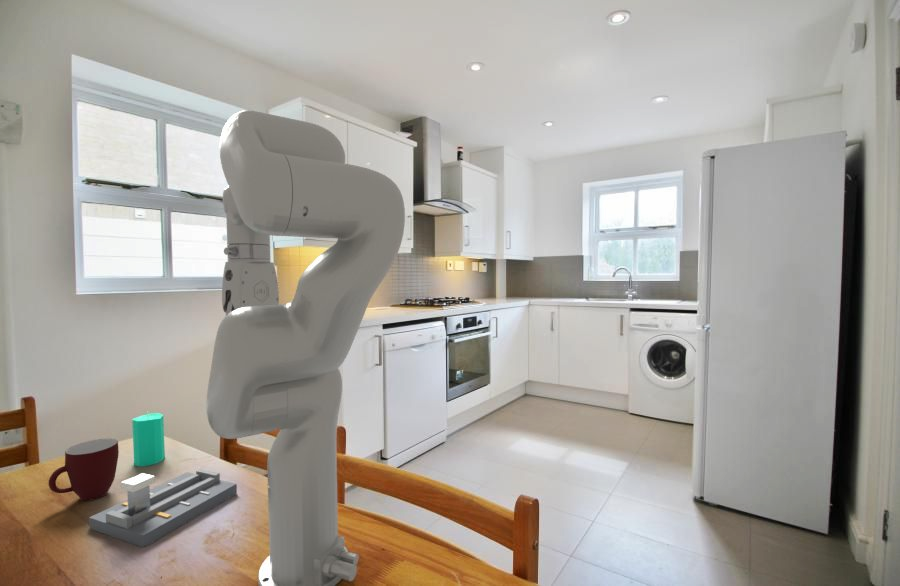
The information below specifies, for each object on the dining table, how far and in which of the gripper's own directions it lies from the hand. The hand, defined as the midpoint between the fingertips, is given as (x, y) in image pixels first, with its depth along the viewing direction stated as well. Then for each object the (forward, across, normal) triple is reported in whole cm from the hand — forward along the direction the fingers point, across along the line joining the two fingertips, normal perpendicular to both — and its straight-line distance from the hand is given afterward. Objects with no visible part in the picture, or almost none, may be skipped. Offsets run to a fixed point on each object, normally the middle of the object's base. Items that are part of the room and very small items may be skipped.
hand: (251, 349), depth 84 cm
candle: (+29, +3, +36) cm, 47 cm away
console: (+29, -10, +11) cm, 33 cm away
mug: (+29, -13, +30) cm, 44 cm away
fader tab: (+27, -15, +11) cm, 33 cm away
